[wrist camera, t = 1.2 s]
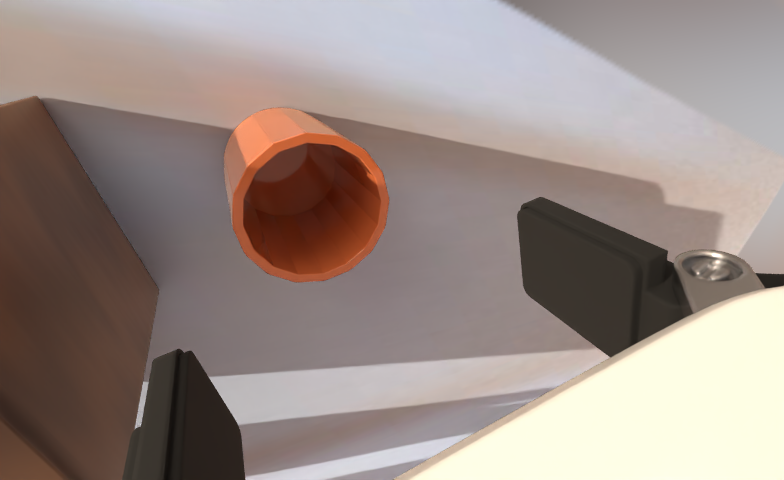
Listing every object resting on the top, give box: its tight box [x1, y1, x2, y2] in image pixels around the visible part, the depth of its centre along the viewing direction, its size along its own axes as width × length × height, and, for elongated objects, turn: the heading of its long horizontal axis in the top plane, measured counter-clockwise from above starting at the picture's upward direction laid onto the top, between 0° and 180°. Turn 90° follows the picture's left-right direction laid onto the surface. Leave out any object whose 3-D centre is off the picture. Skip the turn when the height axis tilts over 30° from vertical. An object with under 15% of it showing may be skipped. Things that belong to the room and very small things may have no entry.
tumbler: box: [224, 108, 389, 282], centre depth 20 cm, size 6×6×8 cm
